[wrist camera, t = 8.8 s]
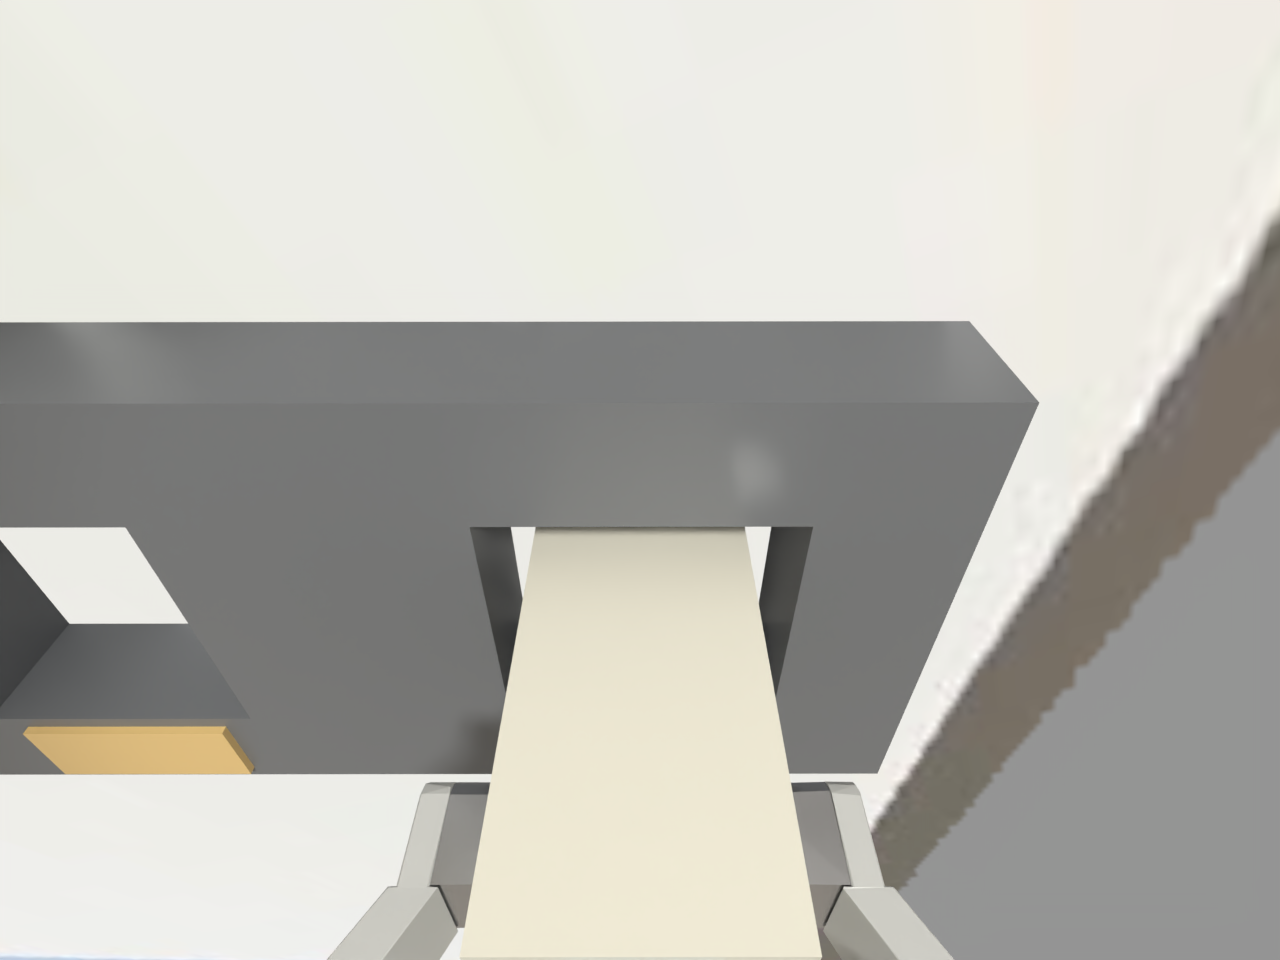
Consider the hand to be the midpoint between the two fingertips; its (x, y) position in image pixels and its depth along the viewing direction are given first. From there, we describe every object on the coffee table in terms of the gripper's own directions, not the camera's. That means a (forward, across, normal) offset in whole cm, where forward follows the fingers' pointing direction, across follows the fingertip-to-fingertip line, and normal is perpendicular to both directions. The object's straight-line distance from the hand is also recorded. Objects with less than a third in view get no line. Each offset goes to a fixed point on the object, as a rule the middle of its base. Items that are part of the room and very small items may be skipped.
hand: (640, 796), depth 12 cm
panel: (+6, +6, 0) cm, 9 cm away
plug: (+5, 0, 0) cm, 5 cm away
